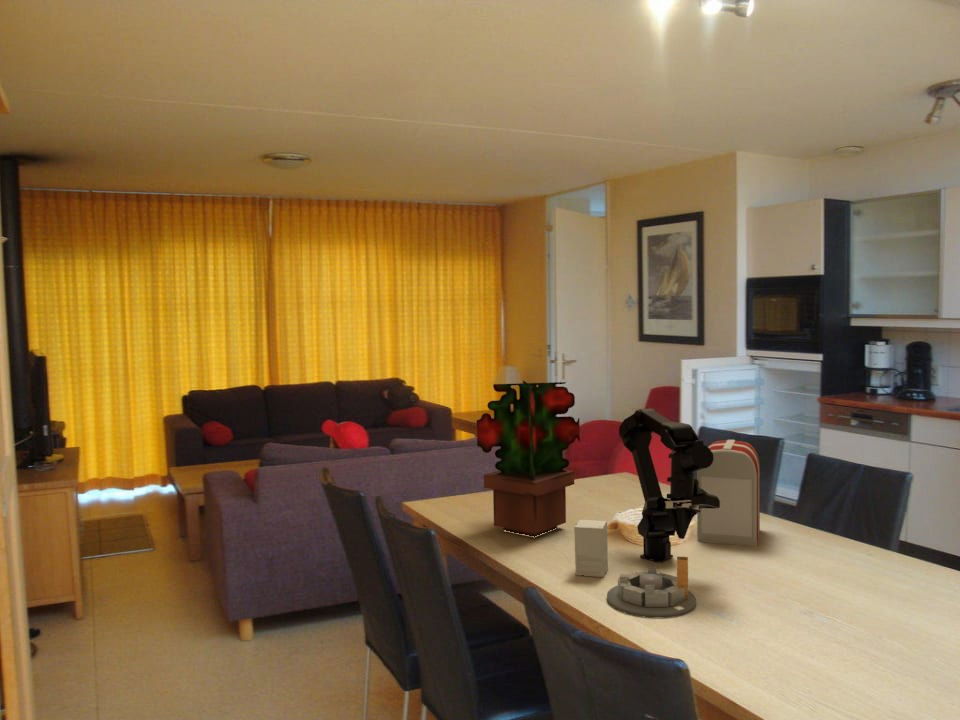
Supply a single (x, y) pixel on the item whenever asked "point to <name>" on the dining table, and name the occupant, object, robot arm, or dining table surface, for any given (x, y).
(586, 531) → the supplement box
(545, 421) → the potted plant
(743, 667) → the dining table surface
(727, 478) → the red-striped tombstone block
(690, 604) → the grey stone circle model
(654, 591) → the grey stone ring wall
